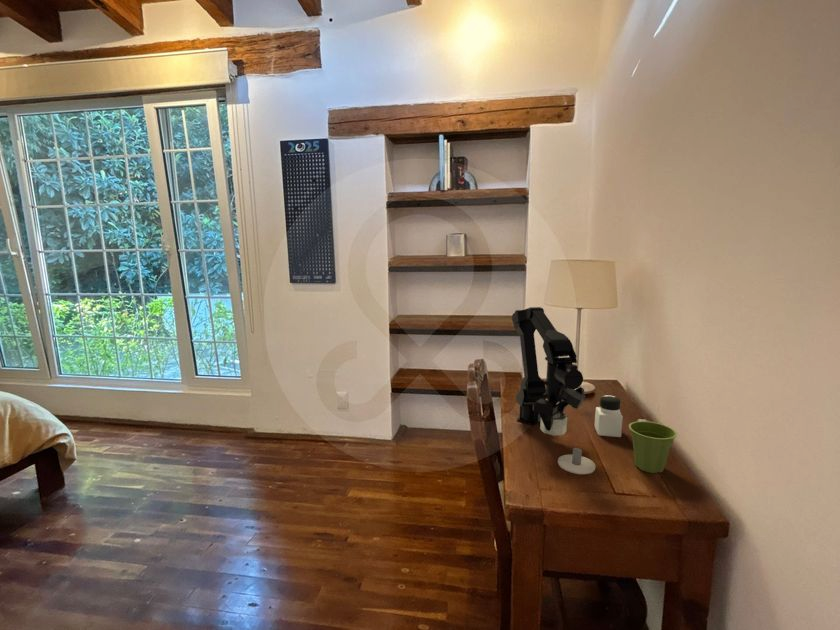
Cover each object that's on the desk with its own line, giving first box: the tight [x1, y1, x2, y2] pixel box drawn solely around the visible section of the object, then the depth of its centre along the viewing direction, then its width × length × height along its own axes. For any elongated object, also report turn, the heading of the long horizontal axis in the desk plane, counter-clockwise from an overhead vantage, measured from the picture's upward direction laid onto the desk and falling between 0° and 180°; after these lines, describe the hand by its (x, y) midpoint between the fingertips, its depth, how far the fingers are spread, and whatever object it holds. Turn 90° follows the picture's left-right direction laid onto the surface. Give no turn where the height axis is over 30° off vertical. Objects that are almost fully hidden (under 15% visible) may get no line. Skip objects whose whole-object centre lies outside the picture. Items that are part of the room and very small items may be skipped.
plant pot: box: [628, 420, 678, 474], centre depth 124 cm, size 12×12×11 cm
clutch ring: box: [539, 411, 568, 436], centre depth 138 cm, size 7×7×5 cm
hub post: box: [557, 447, 596, 475], centre depth 126 cm, size 10×10×5 cm
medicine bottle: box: [594, 395, 624, 438], centre depth 146 cm, size 7×7×12 cm
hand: (553, 426), depth 139 cm, fingers closed on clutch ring, 7 cm apart
